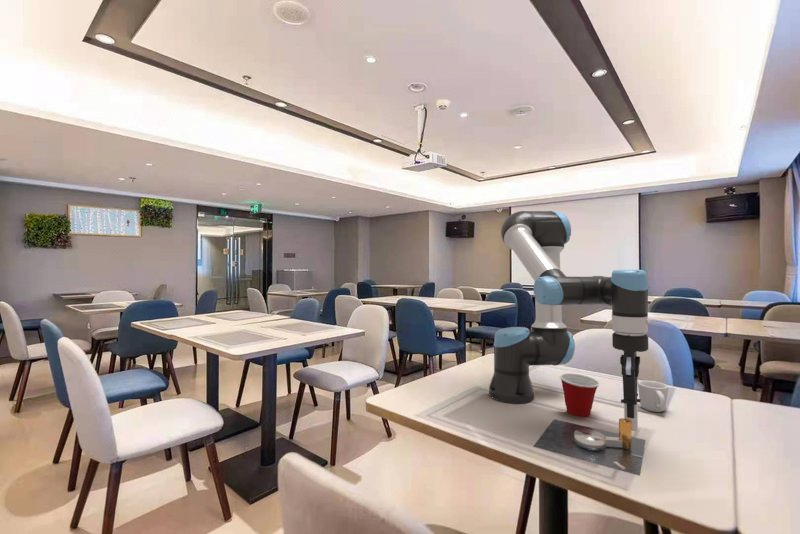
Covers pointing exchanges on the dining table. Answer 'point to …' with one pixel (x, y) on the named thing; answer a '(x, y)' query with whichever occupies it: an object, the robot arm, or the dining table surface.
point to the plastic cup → (578, 393)
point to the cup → (652, 395)
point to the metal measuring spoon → (599, 441)
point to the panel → (562, 442)
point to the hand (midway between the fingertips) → (631, 429)
